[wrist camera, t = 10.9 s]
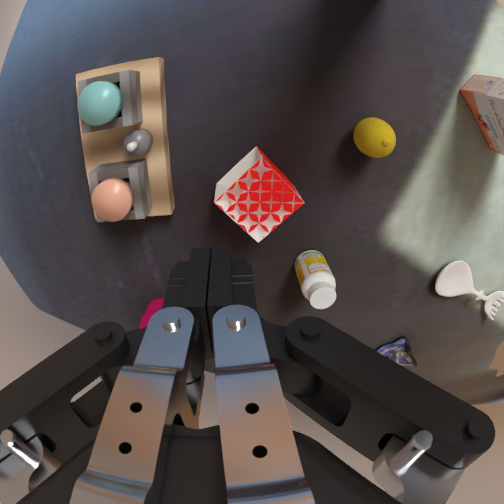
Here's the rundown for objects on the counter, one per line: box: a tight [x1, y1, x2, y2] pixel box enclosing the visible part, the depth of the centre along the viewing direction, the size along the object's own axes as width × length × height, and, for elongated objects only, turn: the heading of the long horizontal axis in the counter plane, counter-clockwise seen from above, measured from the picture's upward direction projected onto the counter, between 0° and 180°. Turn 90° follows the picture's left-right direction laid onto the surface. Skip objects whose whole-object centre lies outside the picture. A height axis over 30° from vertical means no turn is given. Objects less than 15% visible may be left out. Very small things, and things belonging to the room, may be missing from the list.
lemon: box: [353, 118, 396, 158], centre depth 38 cm, size 6×6×8 cm
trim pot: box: [123, 129, 153, 157], centre depth 35 cm, size 3×3×5 cm
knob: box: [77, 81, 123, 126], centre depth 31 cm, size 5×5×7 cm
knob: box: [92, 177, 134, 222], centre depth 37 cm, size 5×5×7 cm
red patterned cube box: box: [214, 146, 304, 243], centre depth 41 cm, size 8×8×8 cm
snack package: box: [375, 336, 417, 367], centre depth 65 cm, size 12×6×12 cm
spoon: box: [435, 260, 504, 320], centre depth 58 cm, size 9×32×4 cm, turn 66°
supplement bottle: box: [295, 250, 336, 309], centre depth 48 cm, size 5×5×10 cm
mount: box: [76, 57, 175, 222], centre depth 36 cm, size 22×12×8 cm, turn 1°
